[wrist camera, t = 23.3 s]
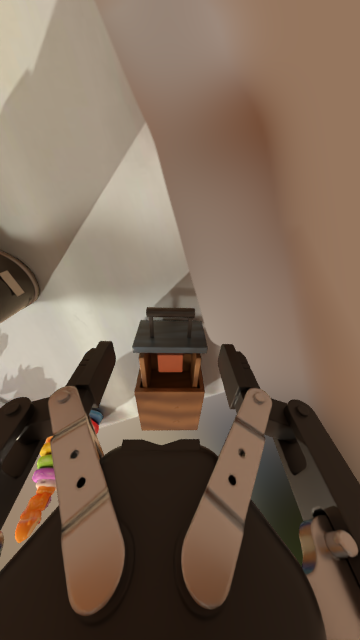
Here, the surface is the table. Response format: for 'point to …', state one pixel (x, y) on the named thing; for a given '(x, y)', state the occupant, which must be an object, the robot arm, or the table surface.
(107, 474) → the robot arm
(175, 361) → the block
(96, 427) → the stacking toy
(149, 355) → the drawer
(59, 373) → the table surface
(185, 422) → the cabinet
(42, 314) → the table surface
